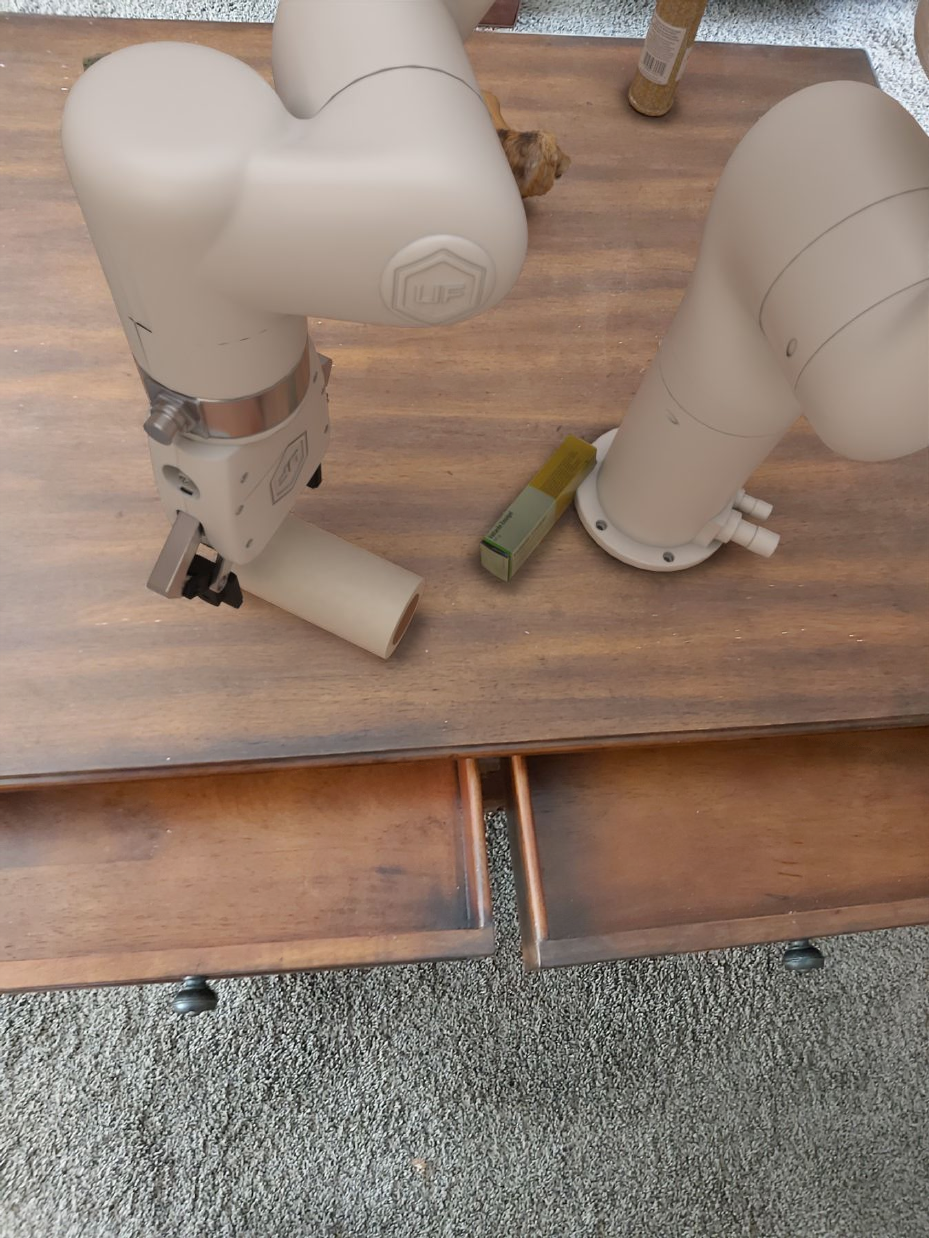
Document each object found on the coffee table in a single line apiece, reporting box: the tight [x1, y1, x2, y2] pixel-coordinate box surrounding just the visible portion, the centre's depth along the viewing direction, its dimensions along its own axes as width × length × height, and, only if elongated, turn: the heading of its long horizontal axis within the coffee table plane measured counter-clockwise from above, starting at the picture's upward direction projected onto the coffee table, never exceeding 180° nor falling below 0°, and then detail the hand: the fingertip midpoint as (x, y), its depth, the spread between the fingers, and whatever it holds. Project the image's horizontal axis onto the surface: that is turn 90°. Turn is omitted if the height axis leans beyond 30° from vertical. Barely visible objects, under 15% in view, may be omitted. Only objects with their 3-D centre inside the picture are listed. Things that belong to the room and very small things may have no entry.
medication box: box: [479, 433, 597, 582], centre depth 62 cm, size 12×3×4 cm, turn 144°
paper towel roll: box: [230, 512, 426, 660], centre depth 56 cm, size 6×6×12 cm
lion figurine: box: [481, 88, 572, 207], centre depth 71 cm, size 15×5×9 cm, turn 35°
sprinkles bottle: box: [627, 0, 709, 117], centre depth 75 cm, size 5×5×14 cm
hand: (260, 533), depth 53 cm, fingers open, 9 cm apart
